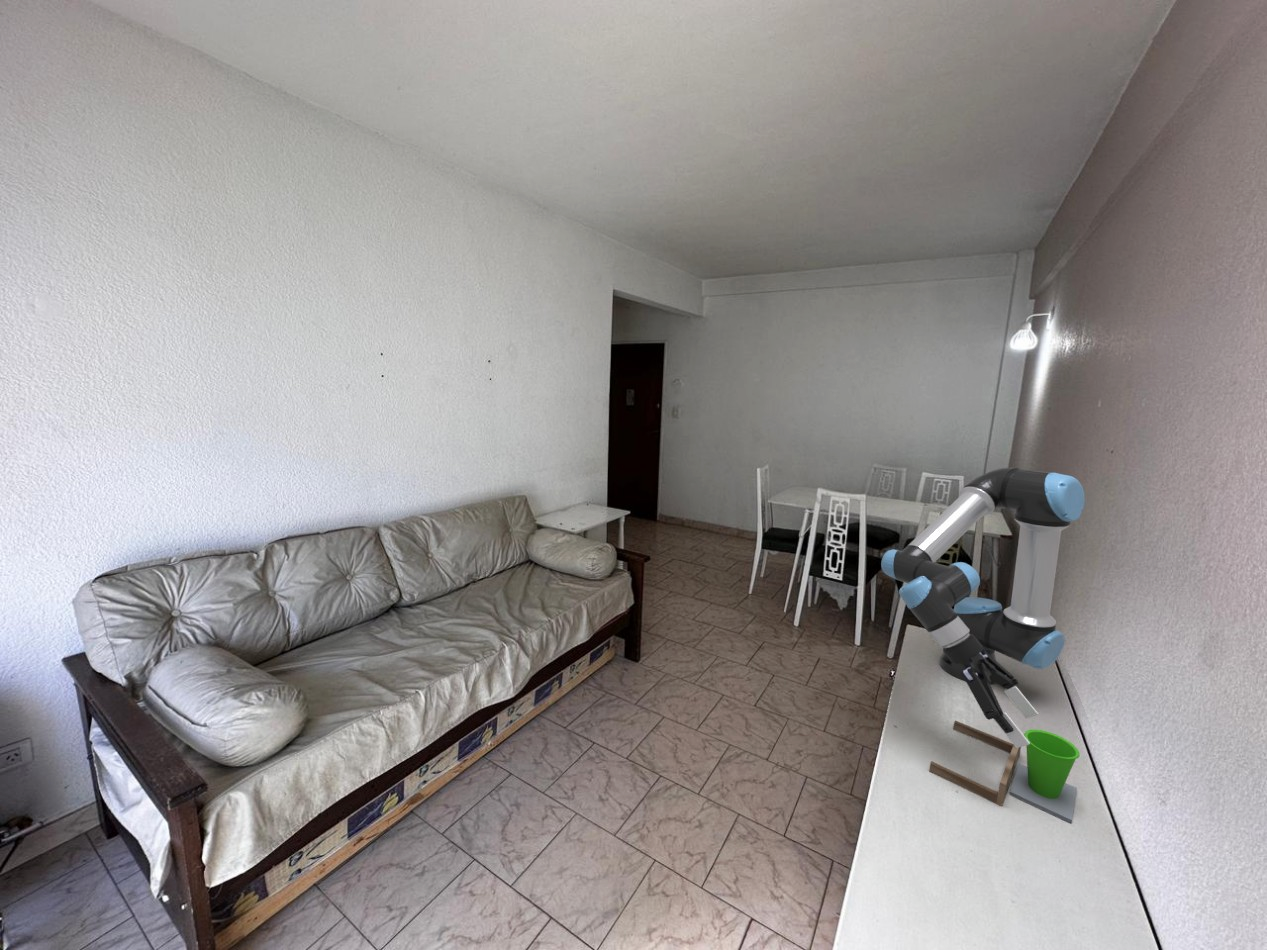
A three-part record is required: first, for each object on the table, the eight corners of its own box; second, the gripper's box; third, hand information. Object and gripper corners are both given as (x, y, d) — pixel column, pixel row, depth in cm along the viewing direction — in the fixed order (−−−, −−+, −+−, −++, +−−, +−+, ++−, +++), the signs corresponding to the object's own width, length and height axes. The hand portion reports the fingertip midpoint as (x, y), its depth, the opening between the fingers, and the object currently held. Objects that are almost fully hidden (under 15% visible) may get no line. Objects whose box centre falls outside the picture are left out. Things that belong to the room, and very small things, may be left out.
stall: (954, 727, 128) (956, 709, 127) (1019, 754, 119) (1022, 735, 118) (929, 771, 113) (931, 751, 112) (1002, 806, 103) (1005, 785, 103)
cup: (1007, 780, 109) (1014, 734, 108) (1033, 769, 113) (1040, 725, 111) (1054, 811, 101) (1063, 763, 100) (1080, 799, 105) (1089, 751, 103)
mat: (1018, 766, 115) (1019, 763, 115) (1076, 791, 108) (1077, 788, 108) (1009, 794, 106) (1010, 791, 106) (1071, 823, 100) (1072, 820, 99)
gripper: (954, 629, 127) (1019, 710, 119) (926, 666, 109) (1000, 764, 101) (982, 616, 122) (1051, 699, 114) (957, 653, 105) (1038, 754, 97)
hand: (1028, 730), depth 108 cm, fingers open, 13 cm apart
